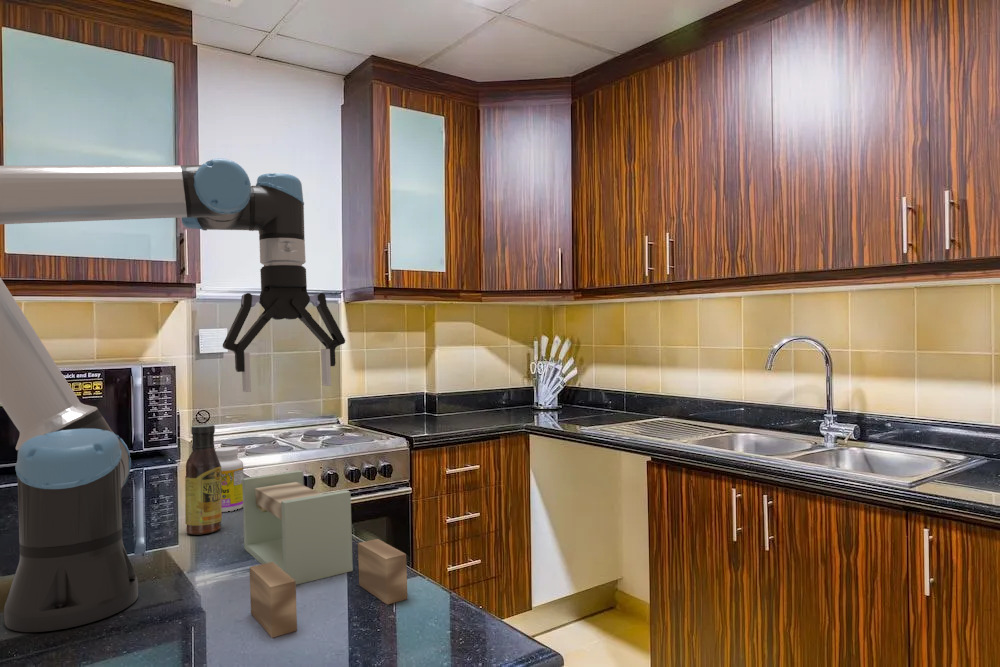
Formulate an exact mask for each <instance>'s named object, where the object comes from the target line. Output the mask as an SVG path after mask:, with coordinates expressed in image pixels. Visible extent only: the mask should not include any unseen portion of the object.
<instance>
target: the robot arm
mask: <svg viewBox="0 0 1000 667" xmlns="http://www.w3.org/2000/svg"><path fill="white" fill-rule="evenodd" d="M251 183H252V182H251V180H250V177H249V175H248V173H247V171H246V170H245V169H244V168H243V166H241V165H239V163H237V162H235V161H233V160H230V159H227V158H221V157H220V158H213V159H210V160H208V161H206V162H204V163H203V164H188V165H187V164H184V165H180V164H179V165H178V164H177V165H174V164H173V165H172V164H171V165H170V164H169V165H165V164H164V165H162V164H160V165H158V164H157V165H156V164H155V165H153V164H152V165H150V164H148V165H145V164H144V165H121V164H120V165H0V225H14V224H15V225H18V224H44V223H45V224H46V223H47V224H48V223H70V222H71V223H72V222H94V221H96V222H97V221H98V222H99V221H122V220H146V219H147V220H150V219H176V218H177V219H178V218H181V223H182V225H183V227H184V228H187V229H194V230H202V231H208V230H213V231H220V230H221V231H223V230H224V231H249V232H251V231H252V232H254V231H255V232H257V231H258V235H259V236H258V237H259V240H258V241H259V262H260V264H261V265H263V266H261V268H260V269H259V270H260V271H259V272H260V290H261V291H260V294H258V295H257V294H251V293H250V292H247V293H244V294H242V296H241V300H240V301H241V302H240V308H239V310H238V312H237V314H236V316H235V318H234V320H233V322H232V324H231V327H230V328H229V330H228V333H227V335H226V337H225V338H224V341H223V343H222V348H223V349H225V350H229V351H231V352H233V353H234V362H235V363H234V365H235V367H234V368H235V371H236V372H237V373H240V372H241V377H242V378H241V380H242V383H241V384H242V392H244V393H250V392H251V391H252V388H251V386H252V385H251V360H250V358H251V357H250V352H245V350H246V349H247V347H249V345H250V344H252V342H253V341H254V339H255V338H256V337H257V336H258V334H260V332H261V331H262V330H263V328H265V326H266V324H268V322H270V321H271V319H273V320H276V321H278V320H284V319H285V320H296V319H299V321H301V322H302V323H303V325H305V326H306V328H308V329H309V331H310V332H312V334H313V335H314V336H315V337H316V338H317V340H318V341H319V342H320V343H321V344H322V345H323V346H324V347H325V348H321V349H320V355H321V356H320V360H321V361H320V362H321V382H322V384H321V385H322V386H325V387H327V386H328V387H329V386H330V387H331V386H332V375H331V374H332V372H331V370H332V369H331V367H335V366H336V348H337V347H339V346H341V345H344V344H345V343H346V338H345V337H344V335H343V333H342V331H341V330H340V327H339V325H338V323H337V322H336V320H335V318H334V316H333V314H332V312H331V310H330V309H329V307H328V304H327V298H326V294H325V293H323V292H320V293H317V294H312V295H311V294H309V293H308V290H307V289H308V288H307V287H308V285H307V283H308V281H307V268H306V267H305V266H303V265H304V264H306V261H307V260H306V243H305V239H306V238H305V211H304V210H305V208H304V207H305V206H304V205H305V202H304V194H303V186H302V184H303V183H302V182H301V180H300V179H299V178H298V177H297V176H295V175H292V174H289V173H281V172H275V173H271V172H270V173H263V174H260V175H259V176H257V178H256V183H255V185H252V184H251ZM258 302H259V304H260V305H261V307H262V309H264V310H263V312H262V313H261V314H260V315H259V317H258V318H257V319H256V321H255V322H254V323H253V324H252V325H251V327H250V328H249V329H248V330H247V331H246V332H245V334H244V335H243V336H242V337H241V339H240V340H239V341H238V342H237V343H236V341H237V339H238V337H239V334H240V333H241V330H242V329H243V327H244V324H245V322H246V320H247V318H248V315H249V313H250V312H251V310H252V309H251V308H253V307H255V306H256V303H258ZM309 303H311V304H312V306H313V307H316V310H317V313H318V314H319V316H320V318H321V319H322V322H323V324H324V325H325V328H326V330H327V331H328V333H329V334H330V335H328V333H327V332H326V331H325V330H324V329H323V328H322V326H320V325H319V324H318V323H317V321H316V320H315V319H314V318H313V316H312V314H311V313H310V312H309V311H308V309H306V307H307V306H308V304H309ZM330 336H331V337H330ZM0 405H1V406H2V408H3V409H4V411H5V413H6V414H7V416H8V417H9V419H10V420H11V421H12V423H13V425H14V426H15V427H16V430H18V432H19V437H18V440H17V443H16V444H15V445H16V446H15V450H16V451H17V457H16V458H17V460H16V463H15V472H16V476H17V478H16V479H17V503H18V504H17V506H18V507H17V508H18V509H17V510H18V539H19V540H18V541H19V561H18V565H17V568H16V570H15V574H14V577H13V580H12V583H11V586H10V587H9V588H10V589H9V592H8V595H7V598H6V600H5V603H4V608H3V610H4V611H3V612H4V614H3V615H4V626H5V627H6V628H7V629H8V630H11V631H15V632H21V633H42V632H51V631H52V632H53V631H59V630H65V629H70V628H75V627H79V626H83V625H87V624H91V623H94V622H96V621H100V620H103V619H106V618H109V617H111V616H113V615H116V614H118V613H120V612H122V611H123V610H125V609H127V608H129V607H130V606H131V605H133V604H134V603H135V602H136V601H137V600H138V598H139V580H138V577H137V574H136V572H135V570H134V567H133V565H132V563H131V560H130V557H129V555H128V553H127V551H126V548H125V546H124V542H123V520H122V519H123V518H122V517H123V516H122V515H123V514H122V512H123V511H122V489H123V488H124V486H125V484H126V483H127V481H128V478H129V475H130V471H131V468H132V458H131V457H130V456H131V454H130V450H129V448H128V445H127V444H126V443H125V441H124V439H123V438H122V437H120V436H119V434H117V433H114V431H113V430H112V428H111V427H110V426H109V423H107V421H106V419H105V417H104V416H103V415H102V413H101V412H100V410H99V409H98V407H97V406H93V405H89V404H84V403H83V402H81V401H80V400H79V397H77V395H76V393H75V391H74V390H73V388H72V387H71V385H70V384H69V383H68V380H66V378H65V376H64V374H63V373H62V372H61V370H60V369H59V367H58V365H57V363H56V362H55V360H54V359H53V357H52V356H51V354H50V353H49V351H48V349H47V348H46V346H45V345H44V343H43V342H42V340H41V338H40V337H39V335H38V334H37V332H36V331H35V329H34V328H33V326H32V325H31V323H30V321H29V320H28V318H27V317H26V315H25V314H24V312H23V311H22V309H21V307H20V306H19V304H18V302H17V301H16V299H15V298H14V296H13V295H12V293H11V292H10V290H9V288H8V287H7V286H6V284H5V283H4V281H3V278H1V277H0Z"/></svg>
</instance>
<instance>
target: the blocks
mask: <svg viewBox="0 0 1000 667" xmlns="http://www.w3.org/2000/svg"><path fill="white" fill-rule="evenodd" d="M357 549H358V550H357V556H358V559H357V560H358V586H360V587H361V588H362V589H364V590H365V591H367V592H368V593H370V594H371V595H373V596H374V597H376V598H377V599H378V600H380V601H382V602H383V603H385V604H386V605H391V604H394V603H398V602H401V601H405V600H408V575H407V574H408V570H407V568H408V566H407V564H408V563H407V554H406V553H405V552H403V551H402V550H400V549H398V548H395V547H393V546H392V545H390V544H388V543H386V542H384V541H383V540H381V539H378V538H375V539H371V540H370V539H369V540H366V541H360V542H357ZM249 590H250V591H249V593H250V597H249V598H250V614H251V615H252V617H253V618H254V619H255V620H256V621H257V622H258V624H260V627H261V626H262V628H263V629H264V631H265V632H266V633H267V634H268V635H269V636H270V637H271V638H276V637H281V636H283V635H287V634H290V633H294V632H297V631H298V620H297V618H298V615H297V585H296V581H295V580H294V579H293V578H291V577H290V576H289V575H288V574H287V573H286V572H284V571H283V570H282V569H281V568H280V567H278V566H277V565H276V564H275V563H274V562H270V563H266V564H261V563H260V564H257V565H253V566H249Z"/></svg>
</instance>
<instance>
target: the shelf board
mask: <svg viewBox="0 0 1000 667" xmlns="http://www.w3.org/2000/svg"><path fill="white" fill-rule="evenodd" d="M320 494H321V493H320V492H318V491H316V490H314V489H312V488H310V487H308V486H306V485H305V484H303V485H302V484H300V483H297V482H293V483H286V484H280V485H273V486H267V487H260V488H255V497H256V504H258V505H259V506H261V507H262V508H264V509H266V510H267V511H269V512H270V513H272V514H273V515H275V516H276V517H278V518H279V519H281V520H282V511H281V501H285V500H291V499H297V498H303V497H309V496H315V495H320Z"/></svg>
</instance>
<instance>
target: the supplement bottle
mask: <svg viewBox="0 0 1000 667" xmlns="http://www.w3.org/2000/svg"><path fill="white" fill-rule="evenodd" d="M214 449H215V448H214ZM215 452H216V454H217V457H218V460H219V462H220V465H221V491H222V513H228V511H230V512H234V510H235V511H238V510H240V509H243V485H242V479H243V478H244V463H243V460H242V459H240V458H238V454H239V448H238V447H237V446H225V447H218V448H216V449H215ZM237 509H238V510H237Z"/></svg>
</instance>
